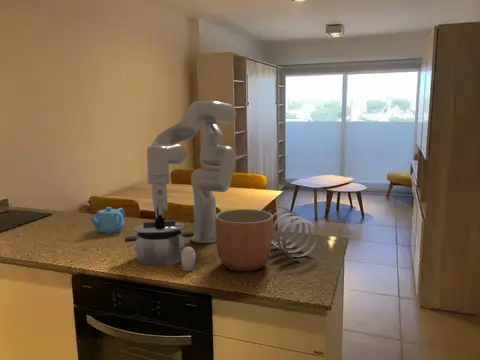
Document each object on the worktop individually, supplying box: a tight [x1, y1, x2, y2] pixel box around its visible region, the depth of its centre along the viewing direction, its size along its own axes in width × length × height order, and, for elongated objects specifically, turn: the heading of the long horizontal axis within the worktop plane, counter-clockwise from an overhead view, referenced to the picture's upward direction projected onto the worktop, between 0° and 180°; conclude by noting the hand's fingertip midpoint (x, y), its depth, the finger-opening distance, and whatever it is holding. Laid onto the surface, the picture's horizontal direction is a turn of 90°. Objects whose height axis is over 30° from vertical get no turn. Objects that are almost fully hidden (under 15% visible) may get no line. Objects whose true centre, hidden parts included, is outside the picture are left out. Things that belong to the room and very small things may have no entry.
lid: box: [133, 219, 186, 233], centre depth 163 cm, size 19×19×3 cm
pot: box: [124, 229, 195, 267], centre depth 165 cm, size 26×20×10 cm
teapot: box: [89, 206, 126, 236], centre depth 200 cm, size 20×17×12 cm
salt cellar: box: [181, 246, 196, 272], centre depth 153 cm, size 5×5×8 cm
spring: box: [269, 206, 319, 262], centre depth 172 cm, size 16×16×30 cm
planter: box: [215, 208, 274, 272], centre depth 154 cm, size 21×21×19 cm
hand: (159, 228), depth 158 cm, fingers closed
